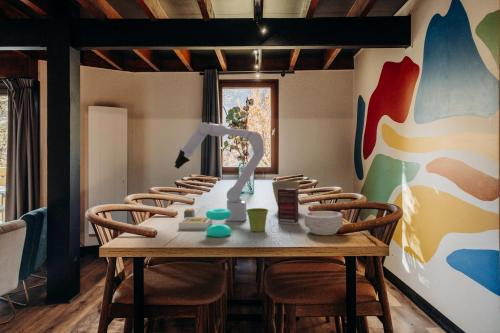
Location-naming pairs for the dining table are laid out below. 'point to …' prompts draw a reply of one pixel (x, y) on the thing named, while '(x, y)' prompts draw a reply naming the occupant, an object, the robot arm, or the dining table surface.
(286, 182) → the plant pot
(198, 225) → the walled box
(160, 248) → the dining table surface
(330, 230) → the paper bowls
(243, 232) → the dining table surface
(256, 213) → the plant pot
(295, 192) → the supplement box
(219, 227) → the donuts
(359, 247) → the dining table surface
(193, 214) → the connector
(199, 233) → the dining table surface
